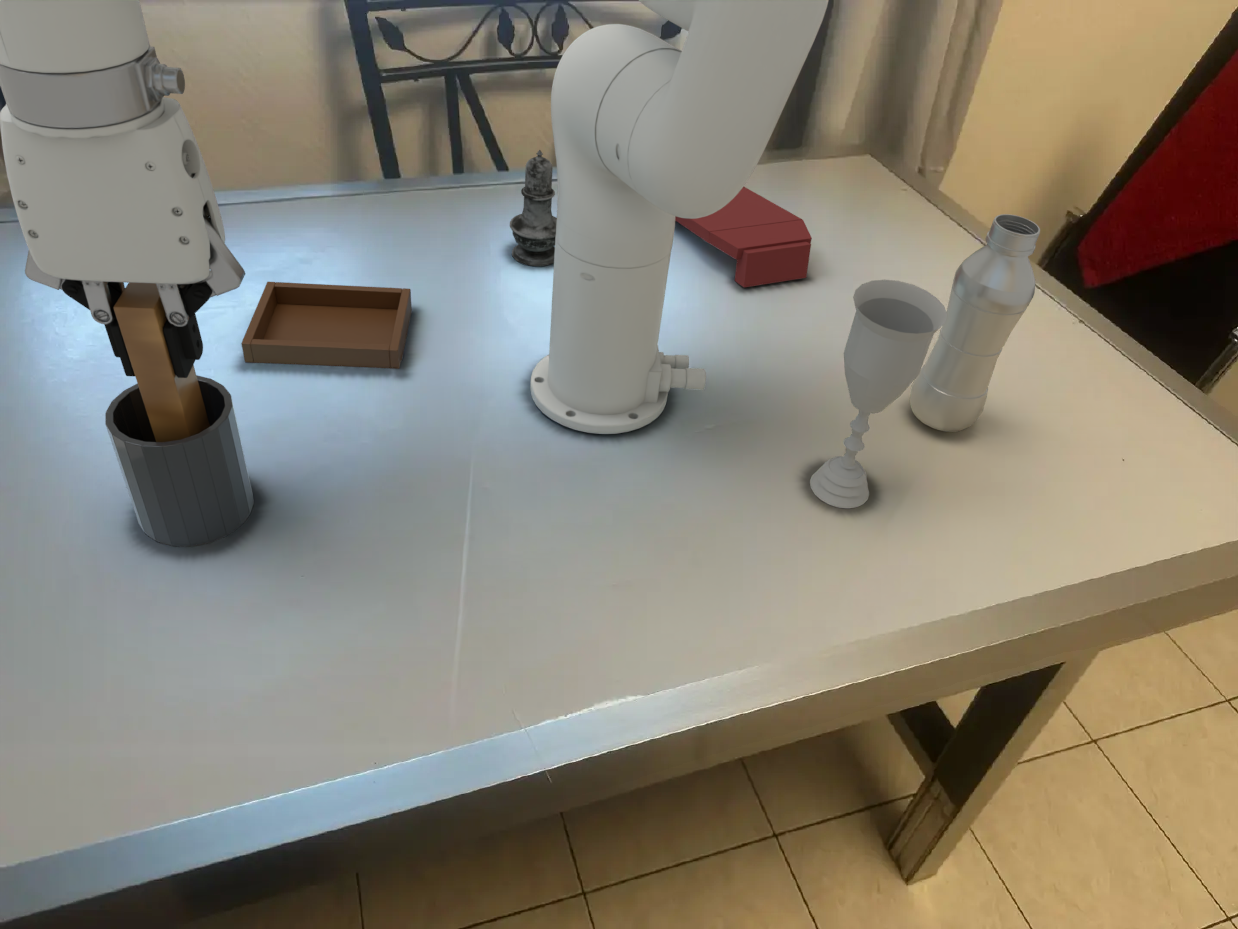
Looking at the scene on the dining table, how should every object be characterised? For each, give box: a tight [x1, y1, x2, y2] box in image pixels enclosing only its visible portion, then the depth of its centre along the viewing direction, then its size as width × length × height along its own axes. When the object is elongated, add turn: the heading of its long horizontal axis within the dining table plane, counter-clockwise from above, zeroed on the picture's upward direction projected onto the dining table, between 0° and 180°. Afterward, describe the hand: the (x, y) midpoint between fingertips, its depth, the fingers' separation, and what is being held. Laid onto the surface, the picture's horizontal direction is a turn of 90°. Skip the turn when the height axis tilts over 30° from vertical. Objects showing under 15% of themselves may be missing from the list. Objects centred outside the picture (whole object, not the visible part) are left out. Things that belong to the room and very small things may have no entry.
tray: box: [240, 281, 413, 370], centre depth 90 cm, size 14×11×3 cm
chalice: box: [809, 279, 947, 509], centre depth 75 cm, size 7×7×18 cm
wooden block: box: [114, 283, 210, 442], centre depth 65 cm, size 2×4×16 cm, turn 3°
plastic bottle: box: [908, 213, 1041, 433], centre depth 83 cm, size 6×7×20 cm
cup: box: [104, 374, 255, 547], centre depth 69 cm, size 8×8×10 cm
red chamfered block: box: [675, 186, 813, 288], centre depth 114 cm, size 12×5×25 cm
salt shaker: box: [509, 149, 557, 267], centre depth 102 cm, size 6×6×12 cm
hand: (163, 362), depth 63 cm, fingers closed on wooden block, 2 cm apart
